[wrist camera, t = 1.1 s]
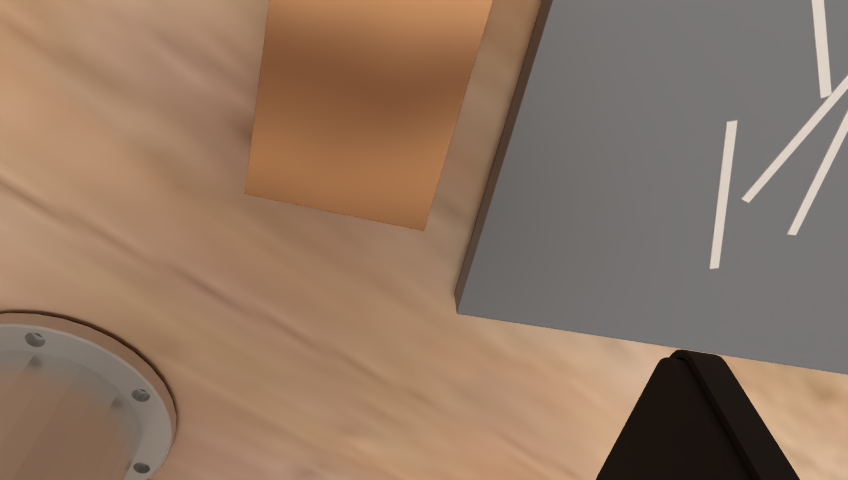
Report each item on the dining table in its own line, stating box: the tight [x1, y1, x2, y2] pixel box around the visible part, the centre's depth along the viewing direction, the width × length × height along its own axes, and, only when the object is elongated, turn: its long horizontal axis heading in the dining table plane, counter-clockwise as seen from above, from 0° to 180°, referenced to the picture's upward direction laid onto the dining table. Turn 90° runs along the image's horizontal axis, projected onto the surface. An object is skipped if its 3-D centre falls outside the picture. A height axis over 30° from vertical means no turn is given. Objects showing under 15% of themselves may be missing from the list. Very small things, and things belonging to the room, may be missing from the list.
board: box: [454, 0, 848, 375], centre depth 26 cm, size 22×22×2 cm
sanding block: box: [244, 0, 493, 231], centre depth 23 cm, size 10×6×5 cm, turn 165°
